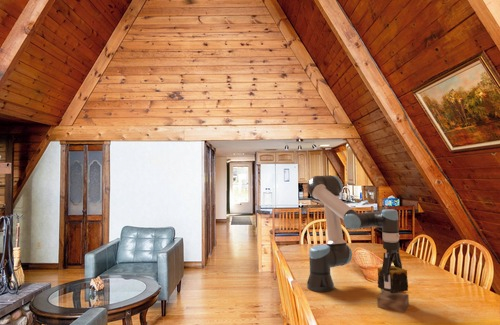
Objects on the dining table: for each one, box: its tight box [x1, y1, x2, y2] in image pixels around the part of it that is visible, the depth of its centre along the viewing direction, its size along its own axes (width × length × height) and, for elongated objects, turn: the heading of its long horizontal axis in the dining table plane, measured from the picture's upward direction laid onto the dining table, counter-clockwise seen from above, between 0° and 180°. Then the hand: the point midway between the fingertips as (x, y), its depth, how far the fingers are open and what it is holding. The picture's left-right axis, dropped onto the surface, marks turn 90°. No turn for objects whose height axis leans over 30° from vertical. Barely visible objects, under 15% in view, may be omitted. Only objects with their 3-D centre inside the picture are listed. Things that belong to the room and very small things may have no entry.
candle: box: [377, 265, 409, 293], centre depth 163 cm, size 10×10×10 cm
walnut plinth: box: [377, 290, 410, 313], centre depth 162 cm, size 12×12×5 cm
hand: (392, 284), depth 163 cm, fingers closed on candle, 13 cm apart
